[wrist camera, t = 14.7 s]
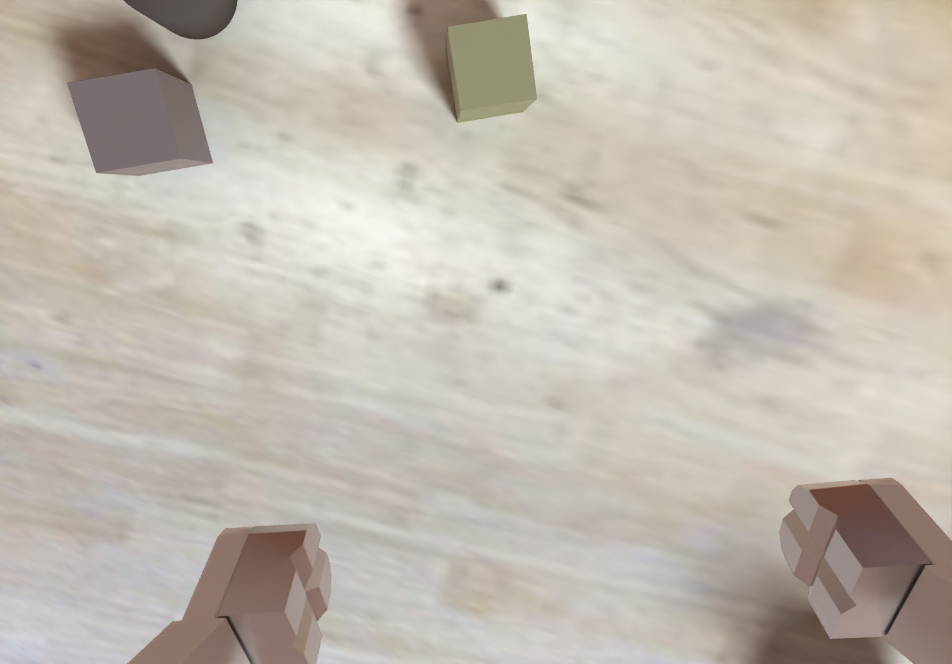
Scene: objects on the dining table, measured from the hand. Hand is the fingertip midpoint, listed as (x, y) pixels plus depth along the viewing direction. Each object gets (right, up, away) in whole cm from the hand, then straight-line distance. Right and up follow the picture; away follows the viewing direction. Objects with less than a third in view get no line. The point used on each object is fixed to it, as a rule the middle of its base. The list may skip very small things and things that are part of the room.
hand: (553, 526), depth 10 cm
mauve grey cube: (-19, +15, +23) cm, 34 cm away
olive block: (-1, +18, +24) cm, 30 cm away
